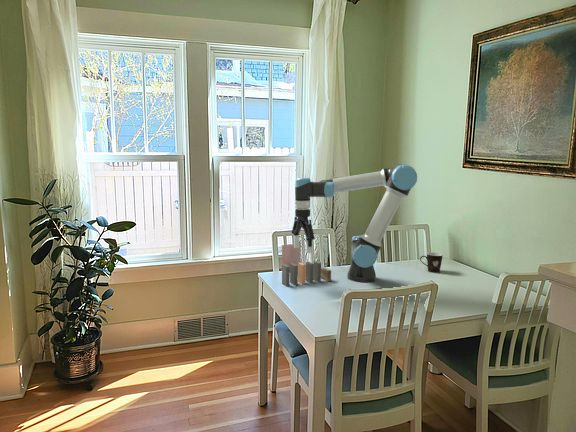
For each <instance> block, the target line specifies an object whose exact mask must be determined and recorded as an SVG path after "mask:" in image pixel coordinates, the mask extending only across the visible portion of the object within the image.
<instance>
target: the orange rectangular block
mask: <svg viewBox="0 0 576 432" xmlns="http://www.w3.org/2000/svg"><path fill="white" fill-rule="evenodd" d="M297 283H299V284H300V285H305V284H306V263H303V262H300V263H298V282H297Z"/></svg>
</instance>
